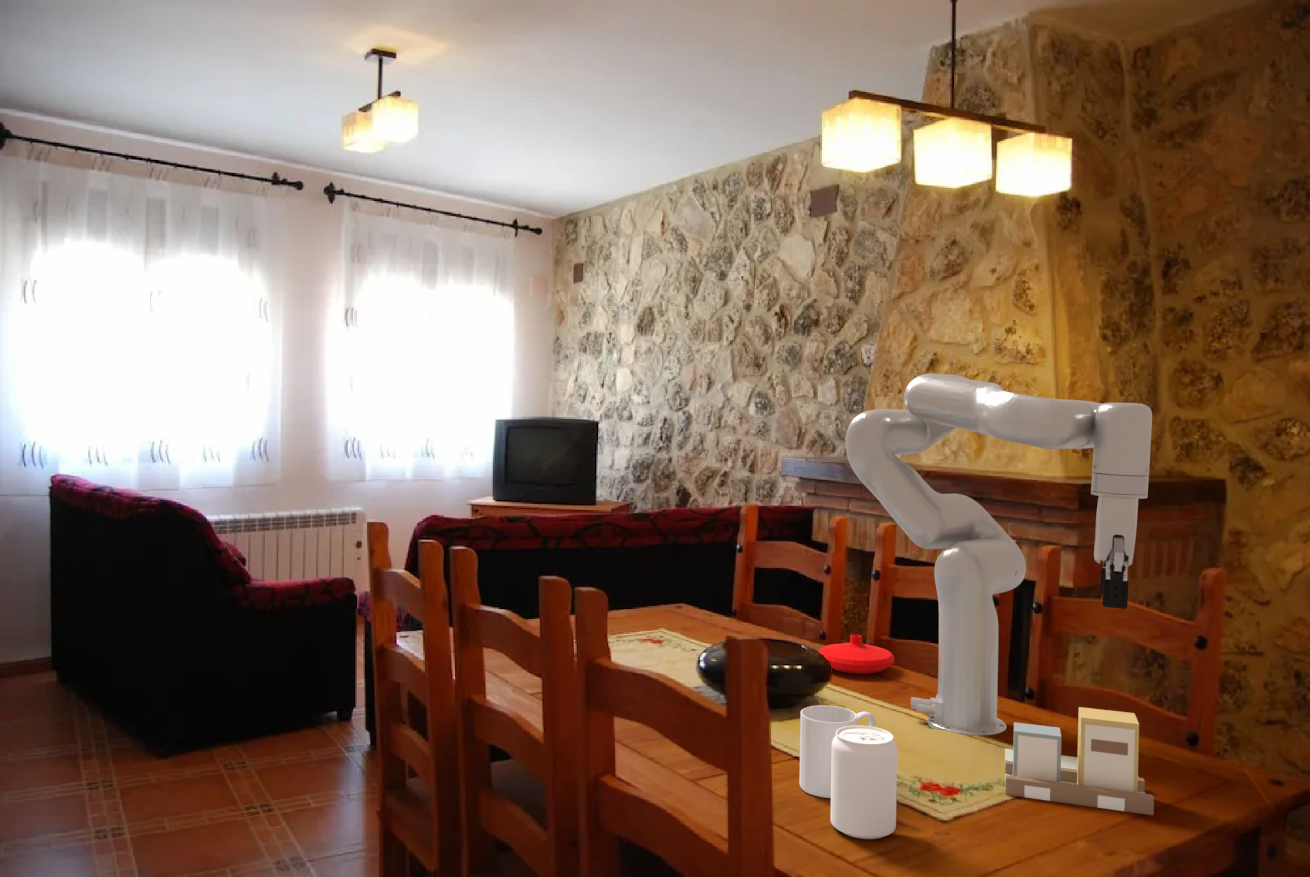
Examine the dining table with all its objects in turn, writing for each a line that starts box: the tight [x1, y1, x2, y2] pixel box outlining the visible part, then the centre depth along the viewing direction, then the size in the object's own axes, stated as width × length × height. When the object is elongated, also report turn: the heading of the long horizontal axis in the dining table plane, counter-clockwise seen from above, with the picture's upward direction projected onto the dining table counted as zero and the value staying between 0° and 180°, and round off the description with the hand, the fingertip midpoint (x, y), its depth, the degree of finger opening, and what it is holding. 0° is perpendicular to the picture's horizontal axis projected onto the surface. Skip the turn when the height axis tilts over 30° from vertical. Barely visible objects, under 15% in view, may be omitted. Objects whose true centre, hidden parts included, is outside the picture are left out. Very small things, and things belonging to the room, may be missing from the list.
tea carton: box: [1077, 706, 1140, 793], centre depth 128 cm, size 7×5×11 cm
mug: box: [798, 704, 877, 799], centre depth 133 cm, size 12×8×10 cm, turn 118°
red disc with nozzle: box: [818, 634, 895, 675], centre depth 196 cm, size 16×16×7 cm
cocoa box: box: [1012, 721, 1062, 782], centre depth 131 cm, size 6×4×8 cm
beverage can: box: [830, 724, 898, 840], centre depth 119 cm, size 8×8×12 cm
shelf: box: [1004, 748, 1155, 816], centre depth 134 cm, size 18×19×3 cm
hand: (1112, 601), depth 140 cm, fingers open, 9 cm apart
